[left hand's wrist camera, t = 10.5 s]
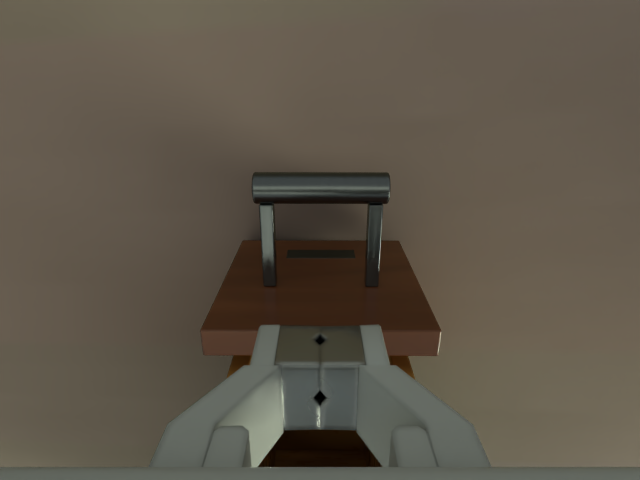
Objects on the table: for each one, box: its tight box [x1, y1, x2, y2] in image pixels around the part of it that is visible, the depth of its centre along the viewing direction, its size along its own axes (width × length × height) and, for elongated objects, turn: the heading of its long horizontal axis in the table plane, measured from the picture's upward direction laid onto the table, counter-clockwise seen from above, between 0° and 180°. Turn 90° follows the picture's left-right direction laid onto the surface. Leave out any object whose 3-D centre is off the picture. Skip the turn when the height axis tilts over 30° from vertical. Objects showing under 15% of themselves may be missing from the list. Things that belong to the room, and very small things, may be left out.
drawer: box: [200, 172, 441, 467], centre depth 22 cm, size 22×9×9 cm, turn 0°
